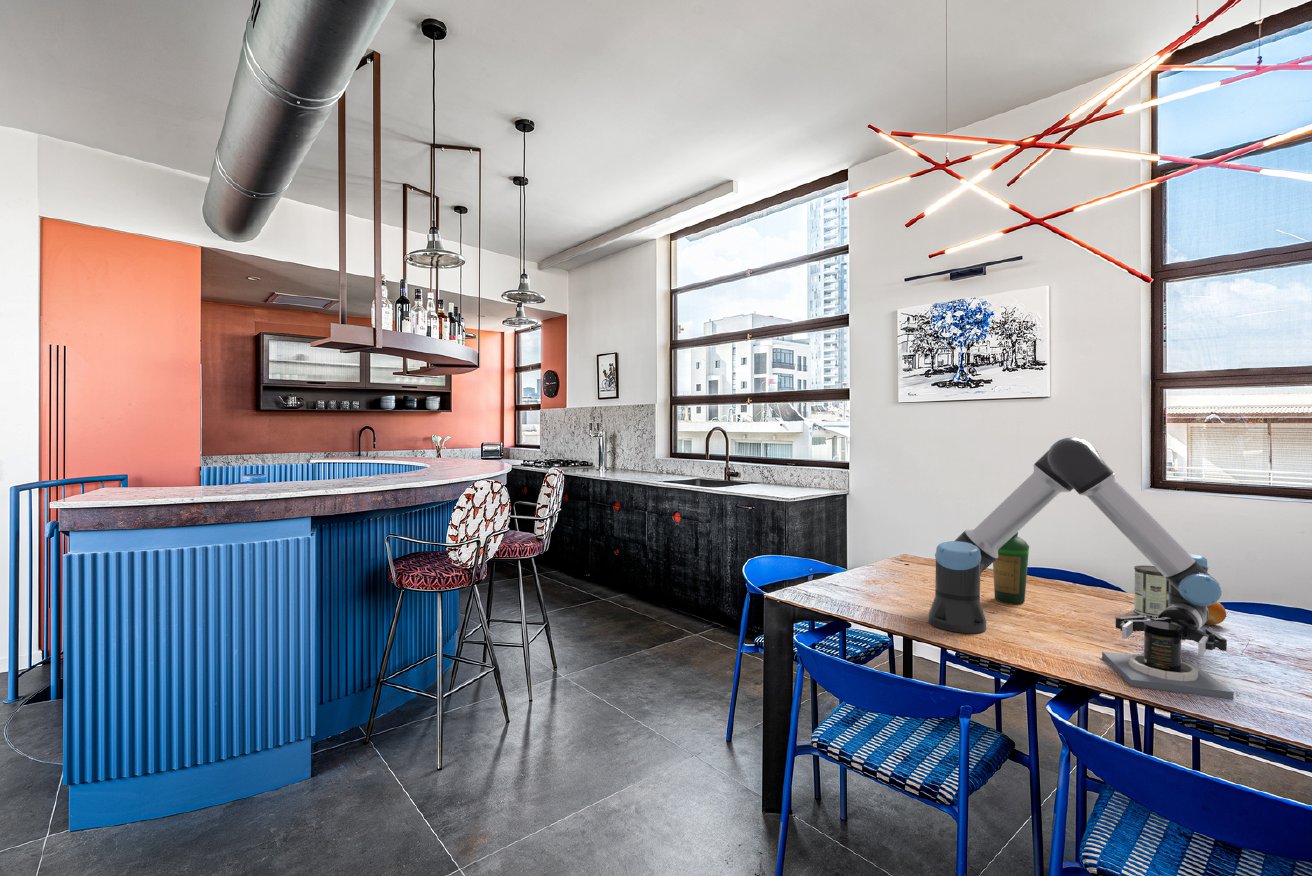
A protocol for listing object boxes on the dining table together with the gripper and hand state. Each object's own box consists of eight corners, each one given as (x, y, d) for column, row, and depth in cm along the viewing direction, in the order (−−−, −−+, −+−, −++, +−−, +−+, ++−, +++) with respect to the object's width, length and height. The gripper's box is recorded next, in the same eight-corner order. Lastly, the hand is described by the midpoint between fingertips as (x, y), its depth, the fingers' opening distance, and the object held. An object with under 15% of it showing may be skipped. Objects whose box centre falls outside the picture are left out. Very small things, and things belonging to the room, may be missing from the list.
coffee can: (1163, 610, 193) (1163, 566, 192) (1184, 620, 182) (1185, 573, 182) (1126, 607, 195) (1127, 564, 194) (1145, 617, 185) (1146, 571, 184)
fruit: (1215, 621, 181) (1216, 595, 181) (1232, 630, 173) (1232, 602, 173) (1181, 618, 184) (1181, 592, 184) (1195, 626, 176) (1196, 599, 176)
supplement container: (1186, 677, 135) (1187, 631, 135) (1149, 673, 138) (1149, 627, 138) (1174, 667, 141) (1175, 622, 141) (1139, 662, 144) (1139, 619, 144)
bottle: (984, 597, 206) (985, 515, 205) (1013, 596, 207) (1015, 515, 206) (1004, 606, 195) (1006, 519, 195) (1036, 605, 196) (1037, 519, 196)
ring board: (1131, 686, 134) (1131, 672, 134) (1102, 657, 151) (1102, 645, 151) (1233, 699, 128) (1233, 685, 128) (1191, 667, 145) (1191, 655, 145)
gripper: (1248, 650, 142) (1235, 674, 128) (1118, 624, 161) (1094, 641, 147) (1249, 619, 142) (1236, 638, 128) (1118, 596, 161) (1095, 611, 147)
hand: (1160, 640), depth 138 cm, fingers open, 13 cm apart
